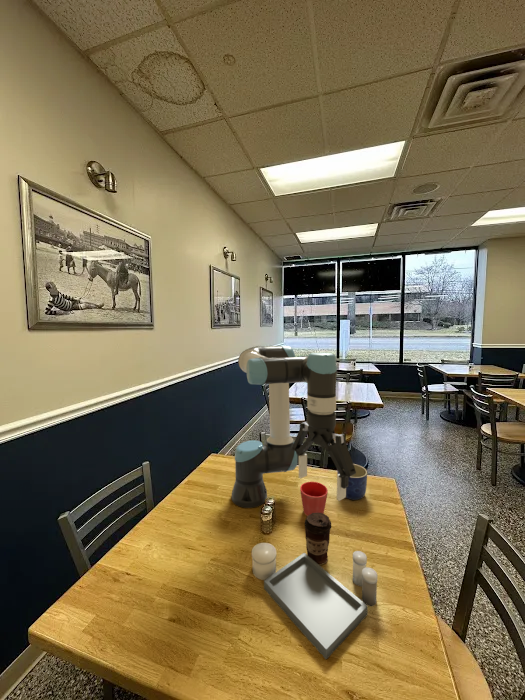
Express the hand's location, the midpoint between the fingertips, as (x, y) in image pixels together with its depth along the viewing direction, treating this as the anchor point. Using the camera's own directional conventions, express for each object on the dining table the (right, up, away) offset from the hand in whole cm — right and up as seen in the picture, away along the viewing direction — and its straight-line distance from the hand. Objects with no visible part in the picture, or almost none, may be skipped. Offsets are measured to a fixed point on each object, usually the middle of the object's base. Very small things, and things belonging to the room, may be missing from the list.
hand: (320, 486), depth 79 cm
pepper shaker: (+13, -29, -2) cm, 32 cm away
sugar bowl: (-15, -29, +8) cm, 34 cm away
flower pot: (+4, -27, +35) cm, 44 cm away
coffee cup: (+2, -29, +13) cm, 31 cm away
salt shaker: (+12, -29, +4) cm, 32 cm away
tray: (-2, -30, -2) cm, 30 cm away
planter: (+23, -26, +47) cm, 58 cm away
